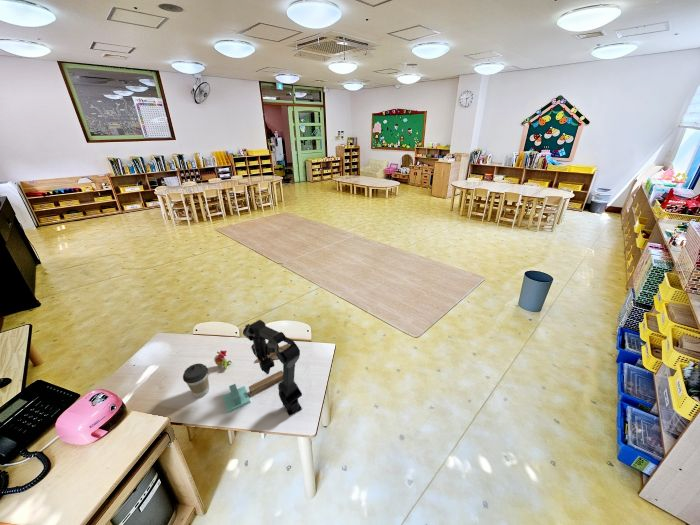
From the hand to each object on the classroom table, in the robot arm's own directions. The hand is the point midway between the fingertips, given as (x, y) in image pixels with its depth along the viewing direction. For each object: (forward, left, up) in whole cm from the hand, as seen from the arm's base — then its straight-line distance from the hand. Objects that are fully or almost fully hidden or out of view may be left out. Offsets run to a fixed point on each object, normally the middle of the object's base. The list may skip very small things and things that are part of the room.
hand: (265, 368), depth 150 cm
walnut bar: (0, 0, -12) cm, 12 cm away
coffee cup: (+15, +30, -12) cm, 36 cm away
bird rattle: (+27, +17, -12) cm, 34 cm away
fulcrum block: (0, +16, -12) cm, 20 cm away
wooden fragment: (+20, -11, -12) cm, 26 cm away
